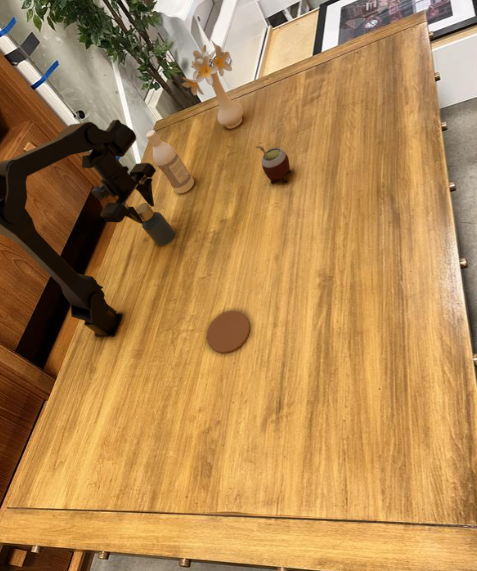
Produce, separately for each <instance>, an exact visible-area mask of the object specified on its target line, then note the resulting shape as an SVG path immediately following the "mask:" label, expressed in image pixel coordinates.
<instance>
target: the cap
mask: <svg viewBox="0 0 477 571" xmlns="http://www.w3.org/2000/svg"><path fill="white" fill-rule="evenodd" d="M135 210H136V212H137V213H138V215H139V216H140V218H141V219H142V221H147V220H149V219H150V218H151V217H152V216H153V215H154V212H155V211H154V210H153V208H152V207H151V206H150V205H149V204H148V203H147V202H142V203H140V204H139V205H138V206H137V207H136V208H135Z"/></svg>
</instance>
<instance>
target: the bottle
mask: <svg viewBox="0 0 477 571" xmlns="http://www.w3.org/2000/svg"><path fill="white" fill-rule="evenodd" d="M141 228H142V229H143V230H144V232H146V234H147V235H148V236H149V238H151V239H152V241H153V242H154V243H155V244H156V245H157V246H159V247H163V246H165V245H168V244H169V243H171V241H173V239H174V238H175V235H176V231H175V229H173V227H172V225H171V224H170V223H169V222H168V221H167V219H166V218H165V216H164V215H163V214H162V213H161V212H158V211H154V215H153V216H152V217H151V218H150V219H149V220H147V221H143V224H141Z"/></svg>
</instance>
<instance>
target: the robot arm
mask: <svg viewBox="0 0 477 571" xmlns="http://www.w3.org/2000/svg"><path fill="white" fill-rule="evenodd" d="M136 141H137V135H136V133H135V131H134V130H133V129H131V127H129V125H126V124H125V123H122V122H121V120H119V119H113V120H112V121H111V122H110V123H109V126H108V127H107V128H106V129H105V130H104V129H101V128H99V126H98V125H97V124H95V123H94V122H92V121H86V122H78V123H72V124H69V125H68V126H65V127H64V128H63V129H62V130H61V131H60V132H59V133H58V134H57V135H56V137H54V138H53V139H51V140H49V141H47V142H44V143H42V144H40V145H38V146H35V147H34V148H33V147H32V148H31V149H29V150H26V151H24V152H22V153H20V154H18V155H16V156H14V157H13V156H12V158H8V159H5V160H4V159H3V160H2V161H0V235H2V236H4V237H6V238H8V239H9V240H10V241H13V242H14V243H16V244H17V245H18V246H19V247H20V248H21V249H22V250H23V251H24V252H25V253H26V254H27V255H28V256H29V257H30V258H31V259H32V260H34V261H35V263H36V264H38V265H39V267H40V268H42V269H43V270H44V271H45V272H46V273H47V274H48V275H49V276H50V277H51V278H52V279H53V280H54V281H55V282H56V283H57V284H58V285H59V286H60V288H61V291H62V294H63V296H64V297H65V299H66V300H67V302H68V303H69V305H70V316H71V318H74V319H77V320H81V321H84V323H83V325H84V326H85V327H87V328H88V329H90V330H91V331H92V332H94V337H97V338H99V337H100V338H102V337H103V338H104V337H105V338H107V337H108V338H110V337H111V338H112V337H115V336H116V333H117V331H118V328H119V326H120V324H121V321H122V320H123V316H124V314H123V313H122V312H119V313H118V312H117V310H115V309H114V308H113V307H112V306H111V305H109V304H108V302H107V301H106V299H105V295H106V294H105V291H104V290H103V289H104V287H103V286H102V285H101V284H99V283H98V281H97V280H96V279H95V278H94V276H92V275H88V274H87V275H86V274H81V273H77V272H76V271H75V269H74V268H72V266H71V265H70V264H68V263H67V261H66V260H65V259H64V258H63V257H62V256H61V255H60V253H58V252H57V251H56V250H55V248H54V247H52V245H51V244H50V243H48V241H47V240H45V238H44V237H43V236H42V235H41V234H40V233H39V232H38V231H37V228H36V226H35V223H34V221H33V217H32V216H31V214H30V213H29V212H28V210H27V209H26V205H27V200H28V190H27V179H28V177H30V176H31V175H33V174H35V173H37V172H39V171H41V170H43V169H45V168H47V167H49V166H51V165H53V164H56V163H57V162H59V161H61V160H63V159H65V158H67V157H69V156H73V155H78V154H82V153H88V152H89V153H88V154H87V155H86V154H85V155H82V156H81V159H82V160H81V168H82V169H94V170H95V171H96V172H97V174H98V175H99V176H100V177H101V178H102V179H101V180H100V181H101V182H100V184H99V185H96V186H94V187H93V188H92V190H90V191H91V192H90V193H91V194H92V195H93V197H95V198H96V199H97V200H98V201H102V200H104V199H108V198H109V196H111V198H116V197H118V198H117V199H116V201H115V202H107V204H106V205H105V206H104V207H103V209H102V210H101V212H100V217H101V219H102V220H103V221H104V222H105V223H118V224H119V223H121V222H123V220H124V219H125V217H126V218H128V219H130V220H132V221H134V222H136V223H137V224H140V225H142V224H143V221H142V219H141V218H140V216H139V215H138V213H137V212H136V208H135V207H134V206H129V205H128V204H127V203H128V200H129V199H130V198H131V196H132V195H133V193H134V192H135V190H136V191H137V192H138V193H139V194H140V195H141V197H142V198H143V199H144V200H145V203H148V205H149V206H150V207H151V208H153V207H155V201H154V195H153V183H152V182H153V178H152V177H153V176H154V175H155V173H156V172H157V169H156V168H155V167H154V165H153V164H152V163H151V162H139V163H138V162H137V163H135V165H134V166H133V167H132V169H131V170H130V168H129V167H128V165H123V164H122V163H121V162H120V160H119V159H118V157H119V158H123V157H124V156H126V154H127V152H128V151H129V150H130V148H132V146H133V145H134V143H135V142H136ZM129 170H130V172H129Z"/></svg>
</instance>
